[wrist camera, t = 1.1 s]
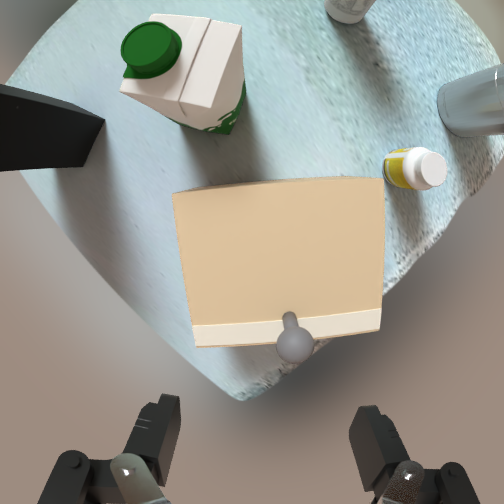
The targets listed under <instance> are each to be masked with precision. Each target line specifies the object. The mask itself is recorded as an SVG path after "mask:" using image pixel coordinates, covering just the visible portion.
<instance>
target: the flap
mask: <svg viewBox="0 0 504 504" xmlns="http://www.w3.org/2000/svg"><path fill="white" fill-rule="evenodd" d="M172 200H173V208H174V216H175V224H176V231H177V238H178V245H179V252H180V259H181V265H182V271H183V277H184V283H185V289H186V295H187V301H188V306H189V312H190V317H191V322H192V329H193V334H194V339H195V344H196V347H197V348H208V347H232V346H249V345H263V344H276V349H277V352H278V354H279V356H280V357H281V358H282V359H283V360H284V361H286V362H288V363H292V364H298V363H301V362H304V361H305V360H307V359H308V358H309V357H310V356H311V354H312V352H313V350H314V340H315V339H324V338H332V337H339V336H346V335H354V334H360V333H366V332H373V331H379V328H380V320H381V304H382V291H383V275H384V250H385V200H384V179H381V178H380V179H341V180H318V181H300V182H285V183H271V184H259V185H247V186H237V187H226V188H217V189H208V190H199V191H191V192H183V193H175V194H172Z"/></svg>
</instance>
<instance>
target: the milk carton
mask: <svg viewBox="0 0 504 504" xmlns="http://www.w3.org/2000/svg"><path fill="white" fill-rule="evenodd" d="M121 56H122V58H123V60H124V61H125V62H126V63H127V68H126V70H125V73H124V75H123V77H124V79H123V82H122V84H121V87H120V90H119V91H120V92H121V93H123V94H126V95H127V96H129V97H131V98H133V99H135V100H137V101H139V102H141V103H143V104H145V105H147V106H149V107H150V108H152V109H154V110H155V111H157V112H159V113H160V114H162V115H164V116H165V117H167V118H169V119H170V120H172V121H174V122H175V123H177V124H180V125H182V126H186V127H189V128H193V129H197V130H201V131H206V132H214V133H222V134H228V135H229V134H230V131H231V129H232V127H233V125H234V123H235V121H236V119H237V117H238V115H239V112H240V109H241V106H242V103H243V100H244V97H245V94H246V86H245V77H244V68H243V53H242V26H241V25H237V24H231V23H226V22H220V21H214V20H212V19H210V18H205V17H192V16H182V15H170V14H152V15H151V16H150V18H149V20H148V22H145V23H142V24H140V25H138V26H136V27H135V28H133V29H132V30H131V31H130V32H129V33H128V34H127V35H126V36H125V38H124V40H123V42H122V45H121Z"/></svg>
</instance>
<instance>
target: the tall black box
mask: <svg viewBox="0 0 504 504" xmlns="http://www.w3.org/2000/svg"><path fill="white" fill-rule="evenodd" d="M104 121H105V119H103V118H101V117H99V116H97V115H95V114H93V113H91V112H89V111H87V110H84V109H82V108H80V107H78V106H76V105H74V104H72V103H69V102H66V101H62V100H59V99H56V98H52V97H49V96H45V95H41V94H38V93H34V92H30V91H26V90H23V89H19V88H15V87H11V86H6V85H2V84H0V172H2V171H14V170H27V169H44V168H68V167H83V166H84V163H85V161H86V159H87V156H88V154H89V152H90V150H91V148H92V145H93V143H94V141H95V139H96V137H97V135H98V133H99V131H100V129H101V127H102V125H103V123H104Z"/></svg>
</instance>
